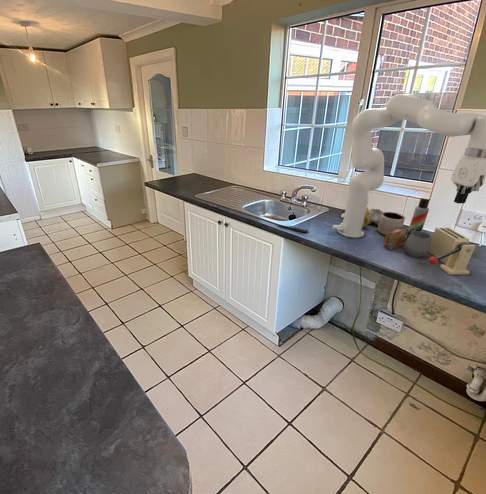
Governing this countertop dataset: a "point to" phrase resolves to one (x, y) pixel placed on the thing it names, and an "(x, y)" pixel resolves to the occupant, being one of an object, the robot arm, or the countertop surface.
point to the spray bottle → (419, 216)
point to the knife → (295, 229)
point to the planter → (390, 222)
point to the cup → (418, 244)
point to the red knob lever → (446, 254)
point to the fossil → (375, 216)
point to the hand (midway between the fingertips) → (459, 202)
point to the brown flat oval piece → (395, 238)
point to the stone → (366, 218)
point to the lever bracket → (459, 259)
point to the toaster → (444, 242)
